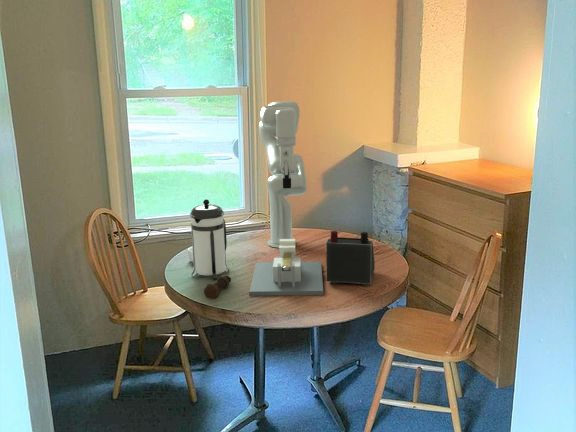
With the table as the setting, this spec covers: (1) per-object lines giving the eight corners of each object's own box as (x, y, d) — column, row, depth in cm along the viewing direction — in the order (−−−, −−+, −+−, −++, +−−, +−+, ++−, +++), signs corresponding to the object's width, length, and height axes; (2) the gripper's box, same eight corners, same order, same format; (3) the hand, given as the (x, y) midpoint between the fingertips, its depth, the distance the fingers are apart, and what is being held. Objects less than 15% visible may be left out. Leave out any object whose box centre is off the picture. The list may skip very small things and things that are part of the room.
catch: (280, 266, 230) (279, 239, 227) (295, 266, 230) (295, 238, 227) (279, 272, 224) (279, 244, 221) (295, 272, 223) (294, 243, 221)
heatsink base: (256, 265, 236) (255, 243, 234) (320, 265, 236) (320, 242, 233) (249, 295, 206) (248, 270, 204) (323, 294, 206) (323, 269, 203)
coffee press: (236, 278, 223) (232, 201, 216) (194, 283, 219) (188, 205, 211) (227, 264, 239) (223, 192, 232) (188, 268, 235) (183, 195, 227)
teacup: (205, 264, 240) (204, 251, 239) (186, 264, 240) (186, 251, 239) (209, 256, 250) (208, 244, 248) (191, 256, 250) (190, 244, 249)
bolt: (230, 288, 218) (213, 303, 204) (219, 281, 219) (201, 294, 205) (236, 276, 216) (220, 290, 202) (225, 269, 217) (208, 282, 203)
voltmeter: (374, 272, 227) (375, 222, 222) (370, 287, 211) (371, 234, 206) (333, 269, 230) (333, 220, 225) (326, 284, 215) (326, 232, 210)
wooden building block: (283, 280, 222) (283, 253, 225) (291, 280, 221) (291, 253, 225) (281, 270, 208) (281, 241, 212) (290, 270, 208) (290, 241, 211)
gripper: (295, 144, 220) (296, 191, 225) (296, 138, 234) (296, 183, 239) (275, 144, 220) (276, 192, 225) (277, 139, 235) (278, 184, 239)
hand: (287, 187), depth 232 cm, fingers closed
